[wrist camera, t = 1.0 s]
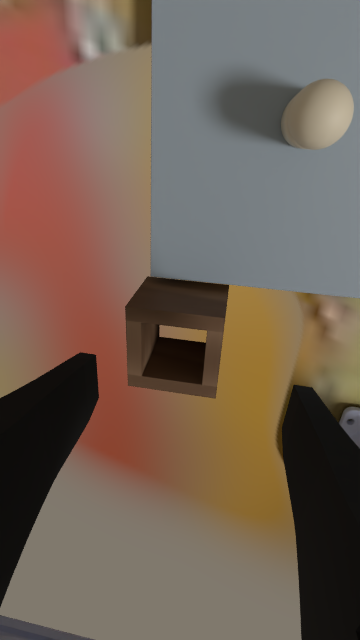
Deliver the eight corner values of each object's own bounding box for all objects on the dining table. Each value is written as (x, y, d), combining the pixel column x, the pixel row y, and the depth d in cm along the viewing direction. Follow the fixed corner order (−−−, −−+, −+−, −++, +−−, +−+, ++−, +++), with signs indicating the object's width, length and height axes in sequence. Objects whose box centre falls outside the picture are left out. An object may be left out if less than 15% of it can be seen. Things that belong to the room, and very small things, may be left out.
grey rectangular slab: (402, 294, 19) (453, 344, 14) (155, 269, 21) (129, 306, 16) (571, -147, 11) (796, -347, 7) (160, -125, 13) (113, -271, 9)
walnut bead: (220, 355, 23) (215, 398, 19) (147, 345, 23) (128, 385, 19) (229, 284, 20) (225, 318, 16) (147, 276, 21) (125, 306, 17)
